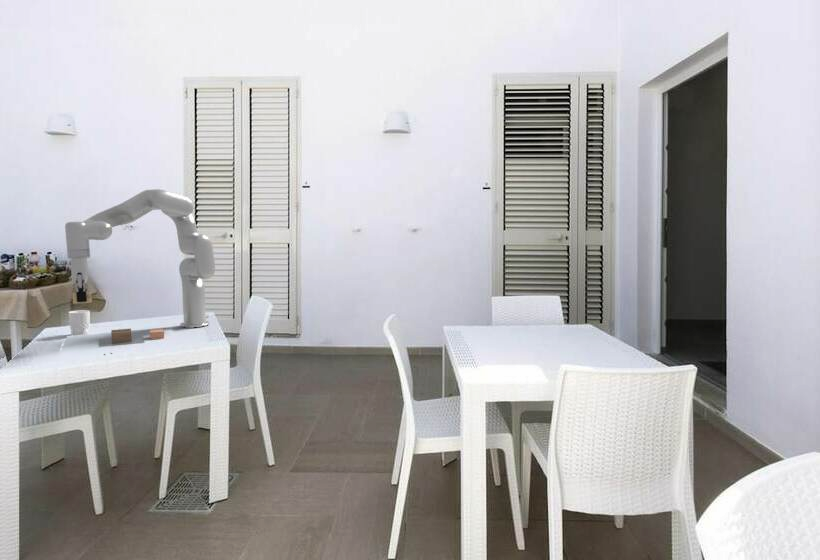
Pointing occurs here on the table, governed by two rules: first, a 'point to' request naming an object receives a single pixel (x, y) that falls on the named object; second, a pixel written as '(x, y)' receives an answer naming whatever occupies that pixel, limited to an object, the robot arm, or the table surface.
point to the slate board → (108, 342)
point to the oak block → (88, 295)
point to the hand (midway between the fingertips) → (82, 300)
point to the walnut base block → (121, 335)
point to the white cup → (79, 322)
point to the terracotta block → (157, 334)
